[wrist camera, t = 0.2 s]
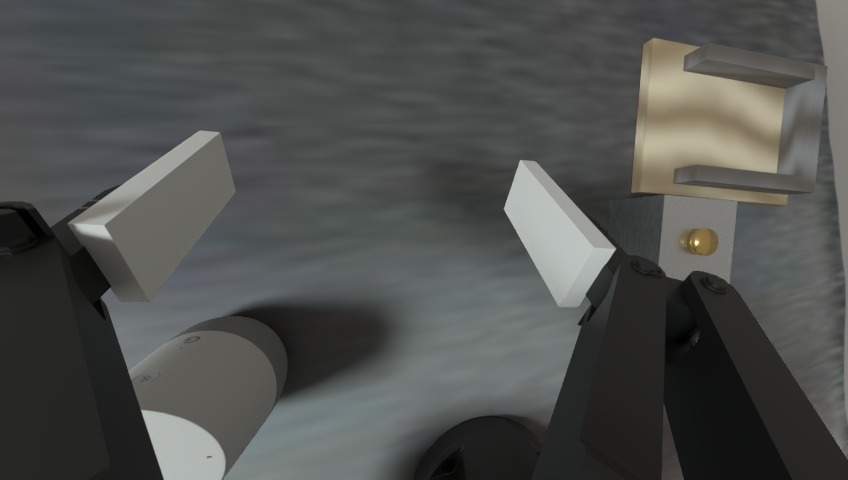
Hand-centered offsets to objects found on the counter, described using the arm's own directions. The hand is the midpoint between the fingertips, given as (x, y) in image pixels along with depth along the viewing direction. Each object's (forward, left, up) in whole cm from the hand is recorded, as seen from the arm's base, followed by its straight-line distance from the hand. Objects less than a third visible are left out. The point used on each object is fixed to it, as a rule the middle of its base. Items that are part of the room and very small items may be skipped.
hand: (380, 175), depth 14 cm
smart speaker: (-15, +11, -16) cm, 24 cm away
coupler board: (+11, -38, -15) cm, 42 cm away
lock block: (-2, -29, -15) cm, 33 cm away
